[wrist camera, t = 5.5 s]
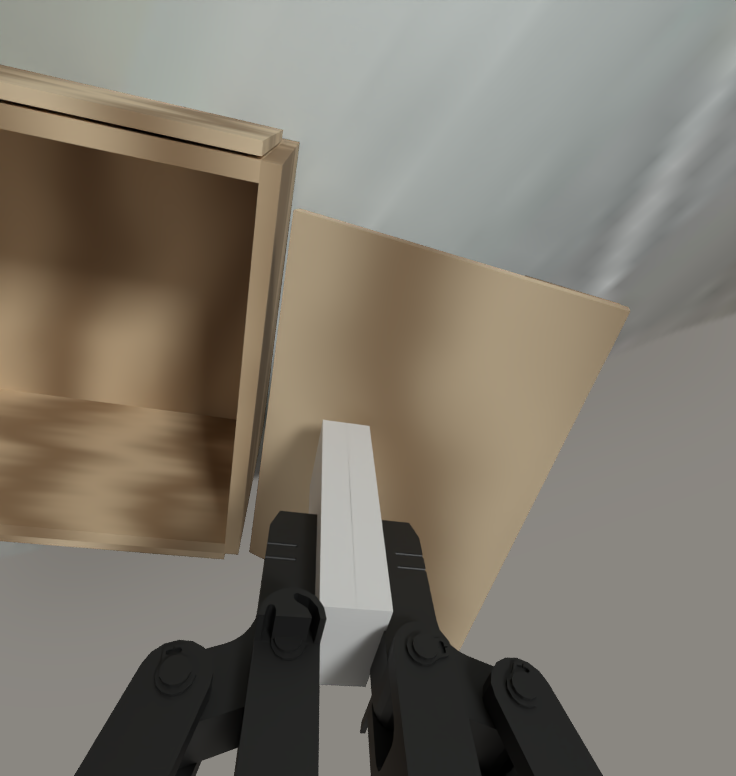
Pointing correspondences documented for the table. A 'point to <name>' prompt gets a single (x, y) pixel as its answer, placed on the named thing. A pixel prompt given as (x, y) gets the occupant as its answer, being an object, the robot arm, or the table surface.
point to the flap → (428, 392)
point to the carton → (134, 316)
